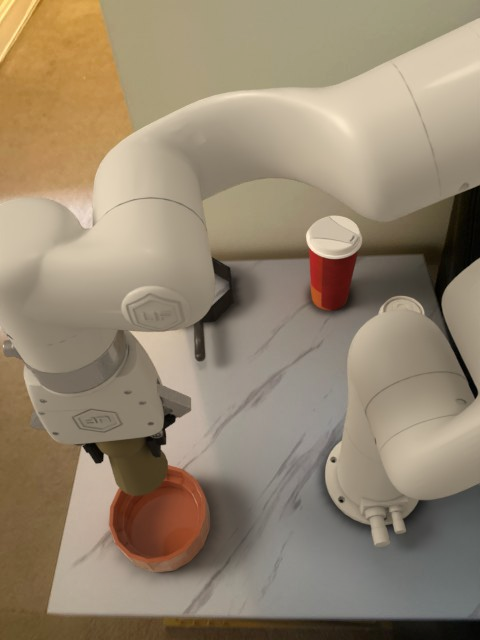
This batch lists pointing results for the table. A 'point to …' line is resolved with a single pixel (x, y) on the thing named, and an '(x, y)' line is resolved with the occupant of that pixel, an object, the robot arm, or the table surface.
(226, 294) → the pan
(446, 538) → the table surface
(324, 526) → the table surface
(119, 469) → the olive rounded piece
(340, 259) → the coffee cup
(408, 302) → the beer can
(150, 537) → the bowl
